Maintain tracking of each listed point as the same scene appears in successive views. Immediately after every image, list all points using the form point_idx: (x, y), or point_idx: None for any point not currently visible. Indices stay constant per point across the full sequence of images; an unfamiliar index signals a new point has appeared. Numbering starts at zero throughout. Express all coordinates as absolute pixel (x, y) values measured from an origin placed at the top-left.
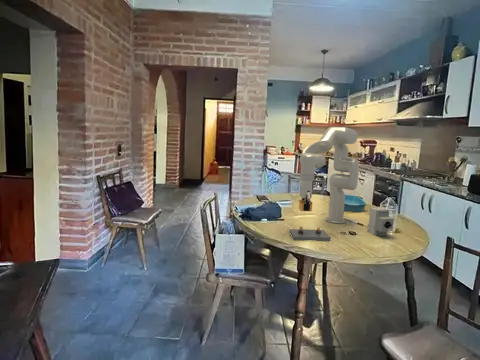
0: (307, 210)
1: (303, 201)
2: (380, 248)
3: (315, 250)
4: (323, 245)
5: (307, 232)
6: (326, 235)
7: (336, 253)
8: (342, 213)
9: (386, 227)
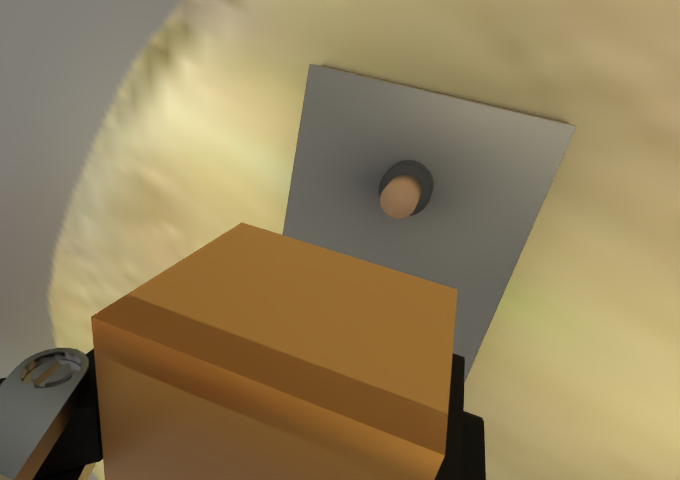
0: None
1: (195, 426)
2: None
3: (117, 140)
4: (202, 243)
5: (408, 254)
6: None
7: (86, 240)
8: None
9: None
